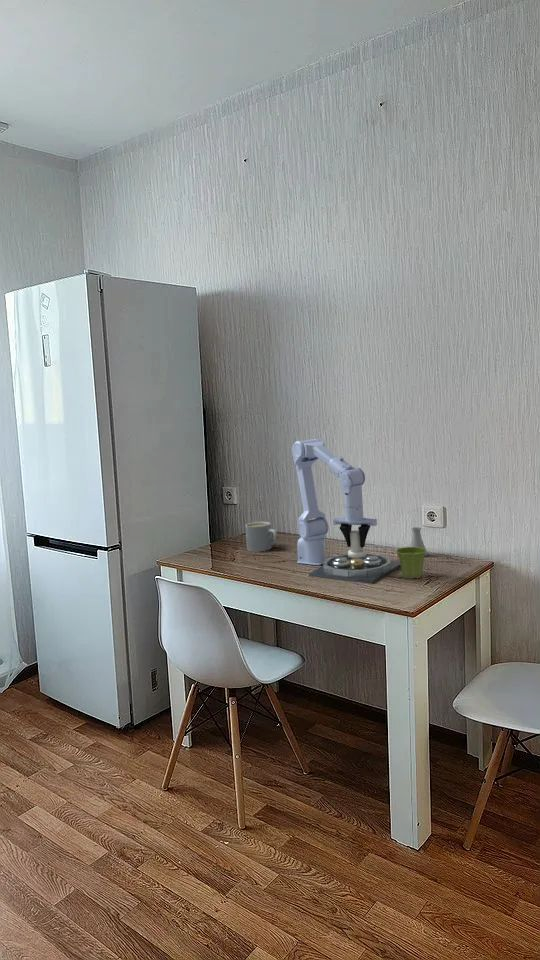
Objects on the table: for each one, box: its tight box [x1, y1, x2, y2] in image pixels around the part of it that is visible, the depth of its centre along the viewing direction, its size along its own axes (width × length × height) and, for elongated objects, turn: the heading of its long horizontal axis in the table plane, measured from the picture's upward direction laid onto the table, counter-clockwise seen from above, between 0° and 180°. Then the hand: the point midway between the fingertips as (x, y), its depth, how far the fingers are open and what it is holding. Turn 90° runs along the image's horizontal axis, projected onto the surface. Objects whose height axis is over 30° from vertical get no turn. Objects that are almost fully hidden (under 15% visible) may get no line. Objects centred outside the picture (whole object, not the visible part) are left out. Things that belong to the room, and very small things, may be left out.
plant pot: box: [396, 546, 427, 580], centre depth 220 cm, size 9×9×9 cm
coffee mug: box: [244, 521, 279, 553], centre depth 270 cm, size 13×10×10 cm
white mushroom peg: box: [347, 530, 367, 558], centre depth 225 cm, size 6×6×8 cm
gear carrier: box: [308, 552, 401, 584], centre depth 232 cm, size 24×24×4 cm
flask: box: [409, 526, 429, 557], centre depth 245 cm, size 7×7×10 cm
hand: (356, 546), depth 225 cm, fingers closed on white mushroom peg, 4 cm apart
